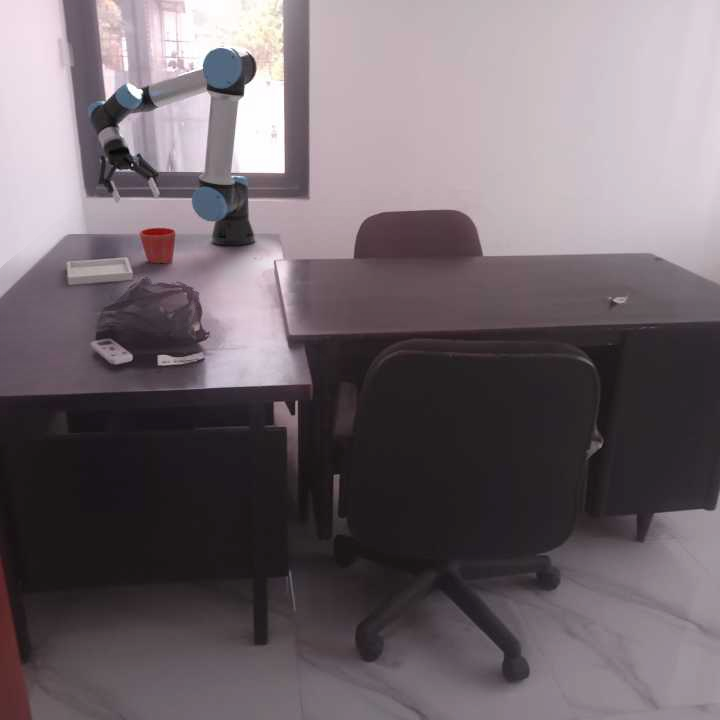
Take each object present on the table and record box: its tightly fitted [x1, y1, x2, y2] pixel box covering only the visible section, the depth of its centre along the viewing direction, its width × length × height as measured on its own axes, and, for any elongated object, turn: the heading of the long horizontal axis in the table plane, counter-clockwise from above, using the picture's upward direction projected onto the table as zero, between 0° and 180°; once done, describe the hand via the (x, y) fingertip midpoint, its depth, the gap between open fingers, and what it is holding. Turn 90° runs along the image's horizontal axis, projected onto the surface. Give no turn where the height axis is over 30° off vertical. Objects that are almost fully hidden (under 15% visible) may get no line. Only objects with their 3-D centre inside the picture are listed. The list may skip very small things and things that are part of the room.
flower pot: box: [139, 227, 176, 264], centre depth 238 cm, size 11×11×10 cm
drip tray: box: [66, 257, 134, 286], centre depth 225 cm, size 18×18×2 cm
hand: (138, 198), depth 241 cm, fingers open, 13 cm apart
